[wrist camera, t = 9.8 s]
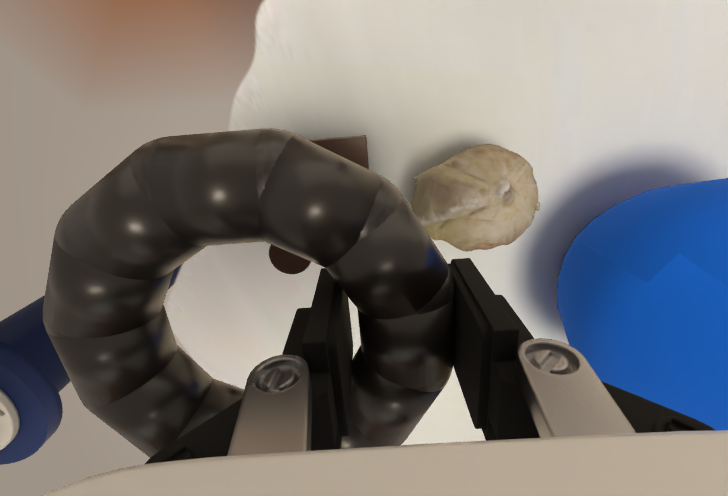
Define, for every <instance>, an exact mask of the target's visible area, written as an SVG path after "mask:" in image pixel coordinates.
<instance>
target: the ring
mask: <svg viewBox="0 0 728 496" xmlns="http://www.w3.org/2000/svg"><path fill="white" fill-rule="evenodd" d="M264 241H265V242H267V243H270V244H272V245H274V246H277V247H279V248H281V249H284V250H286V251H288V252H291V253H293V254H295V255H298V256H300V257H302V258H305V259H307V260H309V261H312V262H314V263H316V264H319V265H321V266H323V267H325V268H326V269H327V271H328V272H329V273H330V274H331V276H332V277H333V278H334V279H335V281H336V282H337V283H338V284H339V286H340V287H341V288H342V289H343V291H344V292H345V293H346V294H347V296H348V297H349V298H350V299H351V301H352V302H353V303H354V304H355V306H356V307H357V308H358V317H359V327H360V337H361V346H360V348H359V349H358V351H357V353H356V355H355V356H354V358H353V360H352V381H351V404H350V426H349V436H342V442H341V449H349V448H365V447H382V446H400V445H401V444H402V443H403V442H404V441H405V440H406V439H407V438H408V436H409V435H410V433H411V432H412V431H413V429H414V428H415V426H416V425H417V424H418V422H419V421H420V420H421V418H422V417H423V415H424V414H425V413H426V411H427V410H428V409H429V407H430V406H431V404H432V403H433V402H434V400H435V399H436V397H437V396H438V395H439V393H440V392H441V391H442V389H443V388H444V387H445V385H446V384H447V381H448V379H449V377H450V375H451V372H452V368H453V359H454V312H455V284H454V279H453V276H452V272H451V270H450V268H449V266H448V264H447V262H446V261H445V259H444V258H443V256H442V255H441V253H440V252H439V250H438V249H437V247H436V245H435V244H434V242H433V241H432V239H431V238H430V236H429V235H428V233H427V232H426V230H425V229H424V227H423V226H422V224H421V223H420V221H419V220H418V218H417V216H416V215H415V213H414V212H413V210H412V209H411V207H410V206H409V204H408V203H407V201H406V200H405V198H404V197H403V195H402V194H401V193H400V191H399V190H398V189H397V188H396V187H395V186H394V185H393V184H392V183H391V182H390V181H389V180H387V179H386V178H384V177H382V176H381V175H379V174H376V173H374V172H372V171H370V170H368V169H366V168H364V167H362V166H360V165H358V164H356V163H354V162H352V161H350V160H348V159H346V158H344V157H341V156H339V155H337V154H335V153H333V152H331V151H329V150H327V149H325V148H323V147H321V146H319V145H317V144H315V143H313V142H311V141H308V140H306V139H304V138H302V137H300V136H298V135H296V134H293V133H291V132H288V131H285V130H279V129H272V128H271V129H253V130H241V131H229V132H217V133H205V134H193V135H181V136H169V137H162V138H159V139H156V140H153V141H150V142H148V143H146V144H144V145H142V146H141V147H140V148H138V149H137V150H135V151H134V152H133V153H132V154H131V155H129V156H128V157H127V158H126V159H125V160H124V161H122V162H121V163H120V164H119V165H118V166H116V167H115V168H114V169H113V170H112V171H111V172H109V173H108V174H107V175H106V176H105V177H104V178H102V179H101V180H100V181H99V182H98V183H96V184H95V185H94V186H93V187H92V188H91V189H89V190H88V191H87V192H86V193H85V194H84V195H82V196H81V197H80V198H79V199H78V200H76V201H75V202H74V203H73V204H72V205H71V206H70V207H69V208H68V209H67V210H66V211H65V212H64V214H63V215H62V217H61V218H60V220H59V222H58V224H57V227H56V230H55V236H54V242H53V248H52V254H51V260H50V267H49V273H48V280H47V286H46V292H45V299H44V305H43V323H44V326H45V329H46V331H47V333H48V335H49V337H50V339H51V341H52V343H53V345H54V347H55V349H56V351H57V353H58V355H59V358H60V360H61V362H62V364H63V366H64V368H65V370H66V372H67V374H68V376H69V378H70V380H71V382H72V384H73V386H74V388H75V390H76V392H77V394H78V396H79V398H80V400H81V401H82V403H83V405H84V406H85V407H86V408H87V409H89V411H91V412H92V413H93V414H95V415H96V416H97V417H98V418H100V419H101V420H102V421H103V422H105V423H106V424H107V425H109V426H110V427H111V428H113V429H114V430H115V431H117V432H118V433H119V434H120V435H122V436H123V437H124V438H126V439H127V440H128V441H129V442H130V443H132V444H133V445H134V446H136V447H137V448H138V449H139V450H141V451H142V452H143V453H145V454H146V455H147V456H149V457H150V458H151V457H152V456H153V455H155V454H156V453H157V452H159V451H160V450H161V449H163V448H164V447H166V446H167V445H169V444H171V443H172V442H174V441H175V440H177V439H178V438H180V437H182V436H183V435H185V434H186V433H188V432H190V431H191V430H193V429H194V428H196V427H197V426H199V425H201V424H202V423H204V422H205V421H207V420H208V419H210V418H212V417H213V416H215V415H216V414H218V413H219V412H221V411H223V410H224V409H226V408H227V407H229V406H230V405H232V404H234V403H235V402H237V401H238V400H240V399H242V398H243V394H244V389H241V388H239V387H236V386H233V385H230V384H227V383H224V382H222V381H219V380H216V379H213V378H212V377H211V376H210V375H209V374H208V373H207V372H206V371H204V370H203V369H202V368H201V367H200V366H199V365H198V364H197V363H196V362H195V361H194V360H193V359H192V358H191V357H190V356H188V355H187V354H186V353H185V352H184V351H183V350H182V349H181V348H180V347H179V346H178V345H177V344H176V341H175V338H174V335H173V332H172V329H171V326H170V323H169V320H168V317H167V314H166V311H165V308H164V305H163V303H164V300H165V296H166V293H167V290H168V287H169V283H170V280H171V277H172V273H173V270H174V269H175V268H177V267H178V266H179V265H181V264H182V263H184V262H185V261H186V260H188V259H189V258H190V257H192V256H193V255H195V254H196V253H197V252H199V251H200V250H202V249H203V248H204V247H206V246H209V245H222V244H236V243H250V242H264Z"/></svg>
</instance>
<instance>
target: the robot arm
mask: <svg viewBox="0 0 728 496" xmlns="http://www.w3.org/2000/svg"><path fill="white" fill-rule="evenodd" d="M448 266H449V268H450V270H451V272H452V276H453V279H454V284H455V312H454V359H453V366H454V369H455V372H456V375H457V378H458V381H459V383H460V386H461V389H462V392H463V395H464V398H465V401H466V404H467V407H468V410H469V413H470V416H471V418H472V421H473V424H474V427H475V428H476V429H480V428H482V431H483V434H484V436H485V439H486V441H471V442H453V443H435V444H417V445H400V446H382V447H365V448H349V449H341V442H342V436H349V426H350V404H351V381H352V359H353V340H352V331H351V322H350V312H349V303H348V296H347V294H346V293H345V292H344V291H343V289H342V288H341V287H340V286H339V284H338V283H337V282H336V281H335V279H334V278H333V277H332V276H331V274H330V273H329V272H328V271H327V269H326V268H323V269H321V272H320V276H319V279H318V283H317V287H316V291H315V295H314V299H313V302H312V306H311V308H299V309H297V311H296V314H295V317H294V320H293V323H292V326H291V329H290V332H289V335H288V339H287V342H286V345H285V348H284V351H283V354H282V355H279V356H275V357H271V358H269V359H267V360H265V361H263V362H261V363H260V364H259V365H257V366H256V367H255V368H254V369H253V370H252V371H251V373H250V375H249V377H248V379H247V383H246V387H245V390H244V394H243V398H242V399H240V400H238V401H237V402H235V403H234V404H232V405H230V406H229V407H227V408H226V409H224V410H223V411H221V412H219V413H218V414H216V415H215V416H213V417H212V418H210V419H208V420H207V421H205V422H204V423H202V424H201V425H199V426H197V427H196V428H194V429H193V430H191V431H190V432H188V433H186V434H185V435H183V436H182V437H180V438H178V439H177V440H175V441H174V442H172V443H171V444H169V445H167V446H166V447H164V448H163V449H161V450H160V451H159V452H157V453H156V454H155V455H153V456H152V457H151V458H150V459H149V460H148V461H147V462H146V463H145V464H144V465H138V466H133V467H127V468H121V469H118V470H114V471H111V472H106V473H103V474H99V475H95V476H91V477H88V478H85V479H83V480H80V481H78V482H75V483H72V484H69V485H67V486H64V487H62V488H59V489H56V490H54V491H51V492H49V493H47V494H45V495H43V496H728V430H718V431H716V430H715V429H713V428H712V427H710V426H709V425H706V424H704V423H702V422H700V421H698V420H696V419H694V418H691V417H689V416H687V415H684V414H682V413H679V412H677V411H674V410H672V409H669V408H667V407H664V406H662V405H659V404H657V403H654V402H652V401H649V400H647V399H645V398H642V397H640V396H637V395H635V394H632V393H630V392H627V391H625V390H622V389H620V388H617V387H615V386H612V385H610V384H607V383H605V382H602V381H600V379H599V378H598V376H597V375H596V373H595V372H594V370H593V369H592V367H591V366H590V365H589V363H588V362H587V360H586V359H585V357H584V356H583V355H582V354H581V353H580V352H579V351H577V350H576V349H574V348H573V347H571V346H569V345H567V344H565V343H562V342H559V341H556V340H552V339H543V338H539V339H534V338H533V336H532V335H531V333H530V332H529V331H528V329H527V328H526V327H525V325H524V324H523V323H522V321H521V320H520V318H519V317H518V316H517V314H516V313H515V312H514V310H513V309H512V308H511V306H510V305H509V303H508V302H507V301H506V299H505V298H504V297H503V296H502V295H495V294H494V292H493V291H492V290H491V288H490V287H489V285H488V284H487V282H486V281H485V280H484V278H483V277H482V275H481V274H480V272H479V271H478V269H477V268H476V267H475V265H474V264H473V262H472V261H471V259H470V258H465V259H452V260H451V264H448ZM19 428H20V418H19V414H18V411H17V409H16V407H15V405H14V403H13V402H12V401H11V399H10V398H9V397H8V396H7V395H6V394H5V393H4V392H3V391H2V390H1V389H0V450H1V449H3V448H5V447H6V446H7V445H8V444H9V443H10V442H11V441H12V440H13V439H14V438H15V437H16V435H17V434H18V431H19Z"/></svg>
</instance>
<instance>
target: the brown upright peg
mask: <svg viewBox="0 0 728 496" xmlns="http://www.w3.org/2000/svg"><path fill="white" fill-rule="evenodd" d="M308 141H311V142H313V143H315V144H317V145H319V146H321V147H323V148H325V149H327V150H329V151H331V152H333V153H335V154H337V155H339V156H341V157H344V158H346V159H348V160H350V161H352V162H354V163H356V164H358V165H360V166H362V167H364V168H366V169H368V155H367V141H366V136H365V135H364V136H352V137H339V138H327V139H315V140H308ZM368 170H369V169H368ZM269 257H270V260H271V262H272V264H273V265H274V267H275V268H277V269H278V270H279V271H281V272H283V273H286V274H297V273H300V272H302V271H304V270H305V269H306V268H307V267H308V266H309V265H310V263H311V261H309V260H307V259H305V258H302V257H300V256H298V255H295V254H293V253H291V252H288V251H286V250H284V249H281V248H279V247H277V246H274V245H272V244H271V246H270V249H269Z"/></svg>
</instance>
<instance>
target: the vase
mask: <svg viewBox="0 0 728 496" xmlns="http://www.w3.org/2000/svg"><path fill="white" fill-rule="evenodd" d="M557 307H558V310H559V313H560V316H561V320H562V323H563V326H564V329H565V333H566V336H567V339H568V342H569V345H570V346H571V347H573V348H574V349H576V350H577V351H579V352H580V353H581V354H582V355H583V356H584V357H585V359H586V360H587V362H588V363H589V365H590V366H591V367H592V369H593V370H594V372H595V373H596V375H597V376H598V378H599V379H600V381H602V382H605V383H607V384H610V385H612V386H615V387H617V388H620V389H622V390H625V391H627V392H630V393H632V394H635V395H637V396H640V397H642V398H645V399H647V400H649V401H652V402H654V403H657V404H659V405H662V406H664V407H667V408H669V409H672V410H674V411H677V412H679V413H682V414H684V415H687V416H689V417H691V418H694V419H696V420H698V421H700V422H702V423H704V424H706V425H709V426H710V427H712V428H713V429H715V430H716V431H718V430H728V178H726V179H718V180H711V181H703V182H695V183H687V184H679V185H674V186H668V187H663V188H658V189H652V190H649V191H647V192H644V193H642V194H640V195H637V196H635V197H632V198H630V199H628V200H625V201H623V202H621V203H619V204H617V205H615V206H613V207H611V208H609V209H608V210H606V211H605V212H604V213H602V214H601V215H599V216H598V217H596V218H595V219H593V220H592V221H591V222H590V223H589V224H588V225H587V226H586V227H585V228H584V229H583V230H582V231H581V232H580V233H579V234H578V235H577V236H576V238H575V239H574V241H573V243H572V244H571V246H570V248H569V249H568V251H567V253H566V254H565V257H564V261H563V264H562V267H561V271H560V275H559V280H558V285H557Z"/></svg>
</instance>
